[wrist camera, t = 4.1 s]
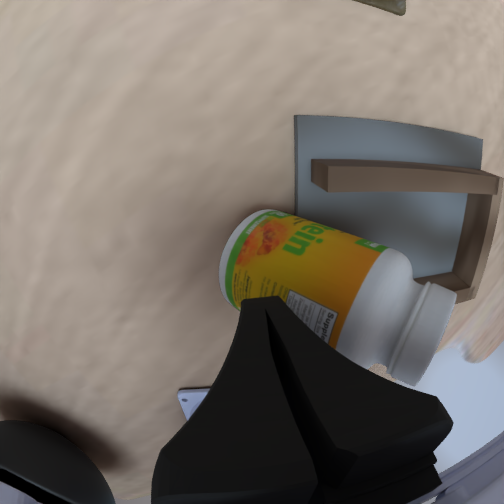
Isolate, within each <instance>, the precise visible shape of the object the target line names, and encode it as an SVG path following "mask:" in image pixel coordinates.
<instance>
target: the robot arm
mask: <svg viewBox="0 0 504 504" xmlns="http://www.w3.org/2000/svg"><path fill="white" fill-rule="evenodd" d="M240 303H241V311H240V317H239V322H238V326H237V329H236V333H235V336H234V339H233V342H232V345H231V347H230V350H229V352H228V355H227V357H226V360H225V362H224V364H223V366H222V368H221V370H220V372H219V374H218V376H217V378H216V380H215V381H214V383H213V385H212V386H211V388H209V389H191V390H180V391H178V399H179V401H180V404H181V407H182V409H183V412H184V414H185V417H186V419H187V422H186V423H185V424H184V426H183V427H182V428H181V429H180V430H179V431H178V432H177V433H176V434H175V435H174V437H173V438H172V439H171V440H170V441H169V442H168V443H167V444H166V445H165V446H164V447H163V448H162V449H161V451H160V453H159V456H158V459H157V462H156V465H155V469H154V473H153V478H152V489H151V504H422V503H424V502H425V501H428V500H429V499H431V498H433V497H435V496H437V495H438V496H437V497H436V501H435V502H433V503H431V504H504V431H503V432H502V433H501V434H499V435H498V436H497V437H495V438H494V439H493V440H491V441H490V442H489V443H487V444H486V445H484V446H483V447H482V448H480V449H479V450H477V451H476V452H474V453H473V454H471V455H470V456H468V457H467V458H465V459H463V460H462V461H460V462H459V463H457V464H455V465H454V466H452V467H450V468H448V469H447V470H445V471H443V472H441V473H439V474H438V473H437V471H436V469H435V467H434V465H433V464H435V463H436V462H437V459H436V457H435V455H434V453H433V451H434V450H435V449H436V448H437V447H438V446H439V445H440V443H441V442H442V441H443V440H444V439H445V438H446V437H447V435H448V434H449V433H450V431H451V429H452V426H453V421H452V419H451V417H450V416H449V414H448V413H447V411H446V409H445V407H444V406H443V404H442V403H441V402H440V401H439V399H438V398H437V397H436V396H433V395H430V394H426V393H423V392H420V391H416V390H413V389H410V388H407V387H404V386H402V385H399V384H396V383H394V382H392V381H390V380H387V379H385V378H383V377H381V376H379V375H376V374H375V373H373V372H371V371H369V370H367V369H365V368H363V367H361V366H360V365H358V364H356V363H355V362H353V361H351V360H350V359H348V358H347V357H345V356H344V355H342V354H341V353H339V352H338V351H336V350H335V349H334V348H332V347H331V346H330V345H329V344H327V343H326V342H325V341H324V340H323V339H321V338H320V337H319V336H318V335H317V334H316V333H314V332H313V331H312V330H311V329H310V328H309V327H308V326H307V325H306V324H305V323H304V322H303V321H302V320H301V319H300V318H299V317H298V316H297V315H296V314H295V313H294V312H293V311H292V310H291V309H290V308H289V307H288V305H287V304H286V303H285V302H284V301H283V300H282V299H281V298H280V297H279V296H278V295H277V296H268V297H259V298H249V299H243V300H242V301H241V302H240ZM0 504H42V503H39V502H37V501H36V500H35V499H33V498H32V497H30V496H28V495H27V494H25V493H23V492H21V491H20V490H17V489H15V488H13V487H11V486H9V485H7V484H5V483H3V482H1V481H0Z"/></svg>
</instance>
